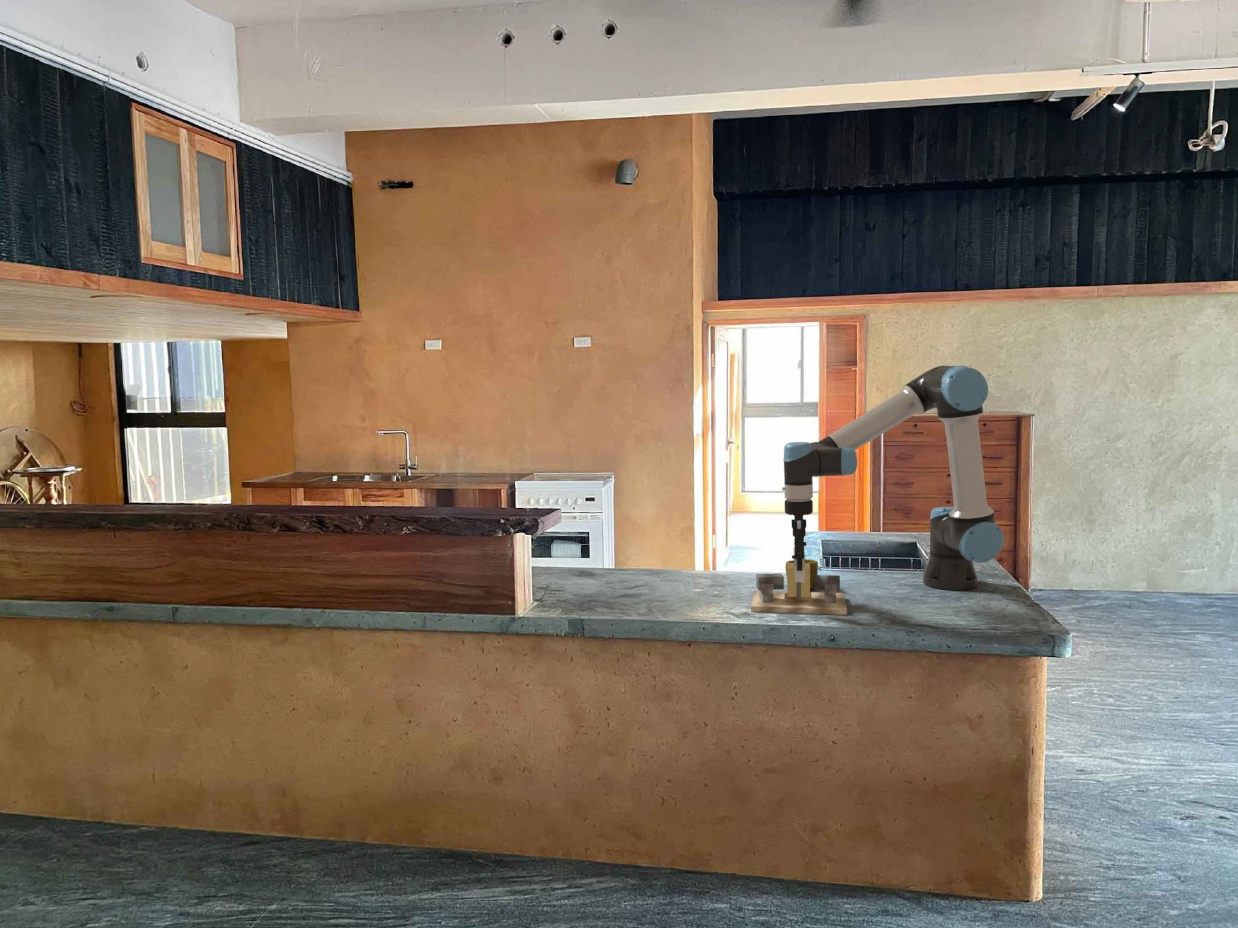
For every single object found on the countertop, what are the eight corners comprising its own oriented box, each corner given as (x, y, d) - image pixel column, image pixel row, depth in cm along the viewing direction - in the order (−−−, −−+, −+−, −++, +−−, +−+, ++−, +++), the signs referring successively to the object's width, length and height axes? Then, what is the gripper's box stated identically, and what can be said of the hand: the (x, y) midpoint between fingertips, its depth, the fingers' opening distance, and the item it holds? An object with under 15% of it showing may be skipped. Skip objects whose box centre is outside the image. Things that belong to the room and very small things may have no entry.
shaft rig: (843, 598, 252) (843, 568, 251) (846, 614, 236) (846, 583, 235) (753, 595, 257) (753, 566, 256) (751, 611, 241) (751, 580, 240)
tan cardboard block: (787, 596, 244) (787, 567, 243) (787, 591, 250) (787, 562, 249) (810, 597, 243) (810, 568, 242) (809, 591, 249) (809, 563, 248)
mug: (824, 587, 257) (813, 553, 259) (790, 596, 259) (779, 563, 261) (826, 584, 269) (815, 552, 270) (793, 593, 271) (783, 562, 273)
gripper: (785, 491, 256) (786, 564, 258) (783, 507, 232) (785, 587, 234) (811, 491, 254) (812, 564, 257) (813, 507, 230) (814, 587, 233)
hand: (799, 575), depth 246 cm, fingers open, 13 cm apart
